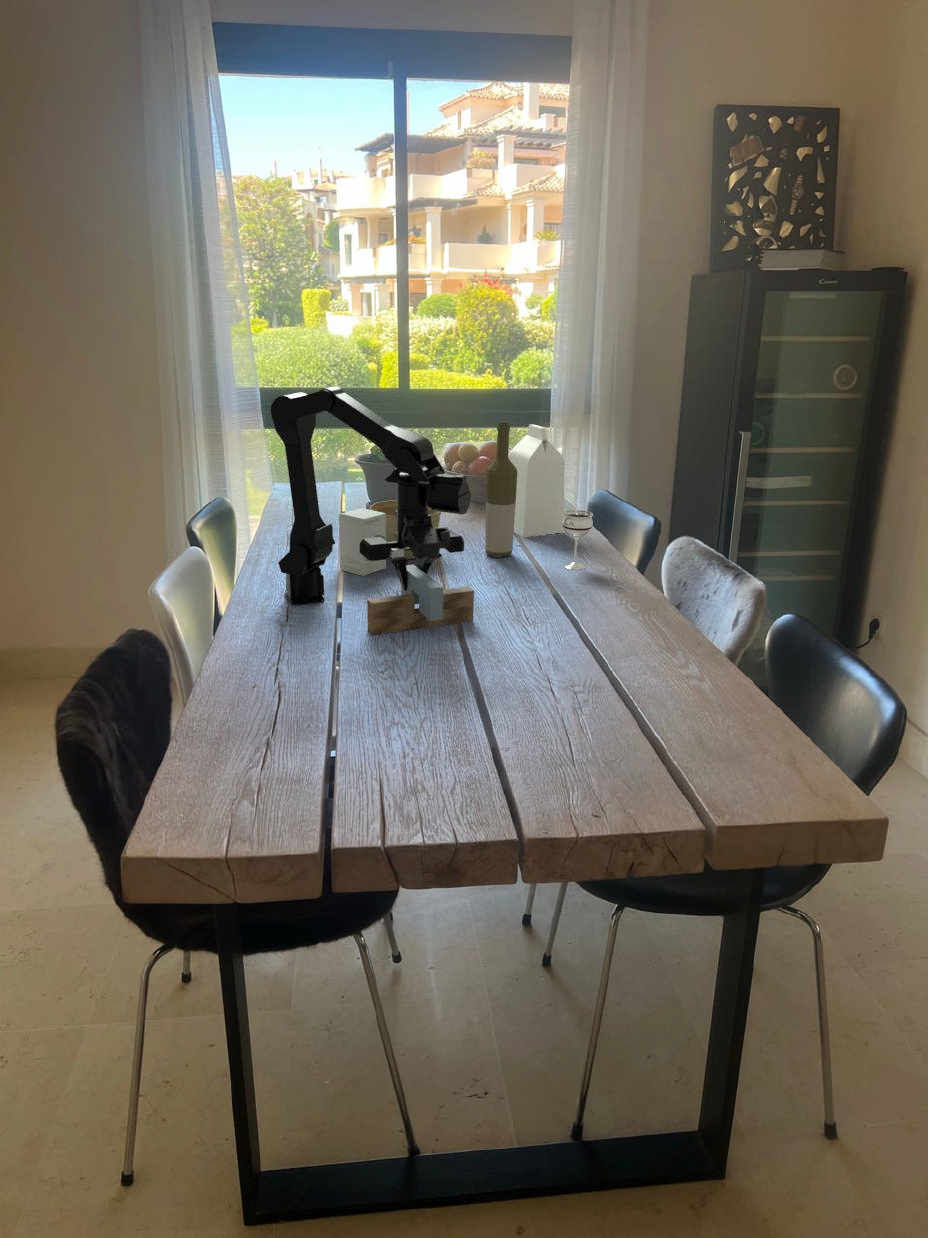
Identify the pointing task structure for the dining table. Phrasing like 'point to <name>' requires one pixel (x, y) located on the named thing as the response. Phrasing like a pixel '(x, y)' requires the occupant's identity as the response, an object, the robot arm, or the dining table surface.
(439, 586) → the slate-blue slotted crosspiece
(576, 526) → the wineglass
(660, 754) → the dining table surface
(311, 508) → the robot arm
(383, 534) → the supplement box
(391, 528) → the planter bowl
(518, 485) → the milk
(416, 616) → the walnut slotted plate
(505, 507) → the bottle
